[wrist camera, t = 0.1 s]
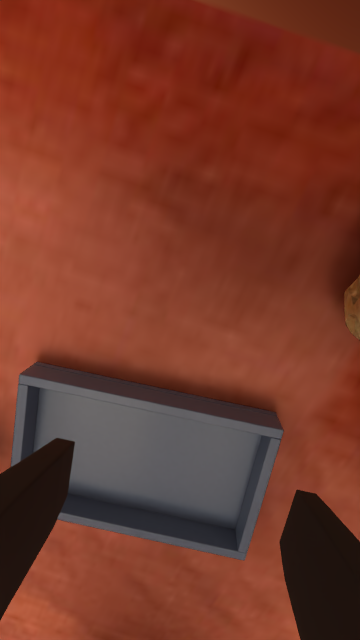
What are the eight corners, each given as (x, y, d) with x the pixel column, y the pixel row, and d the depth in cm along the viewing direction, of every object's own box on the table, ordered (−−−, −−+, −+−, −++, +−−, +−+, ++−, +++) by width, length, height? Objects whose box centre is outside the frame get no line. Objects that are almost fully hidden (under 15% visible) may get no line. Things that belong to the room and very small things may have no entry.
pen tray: (240, 532, 23) (244, 561, 21) (23, 485, 23) (6, 508, 21) (276, 411, 21) (284, 430, 19) (36, 361, 21) (18, 373, 19)
